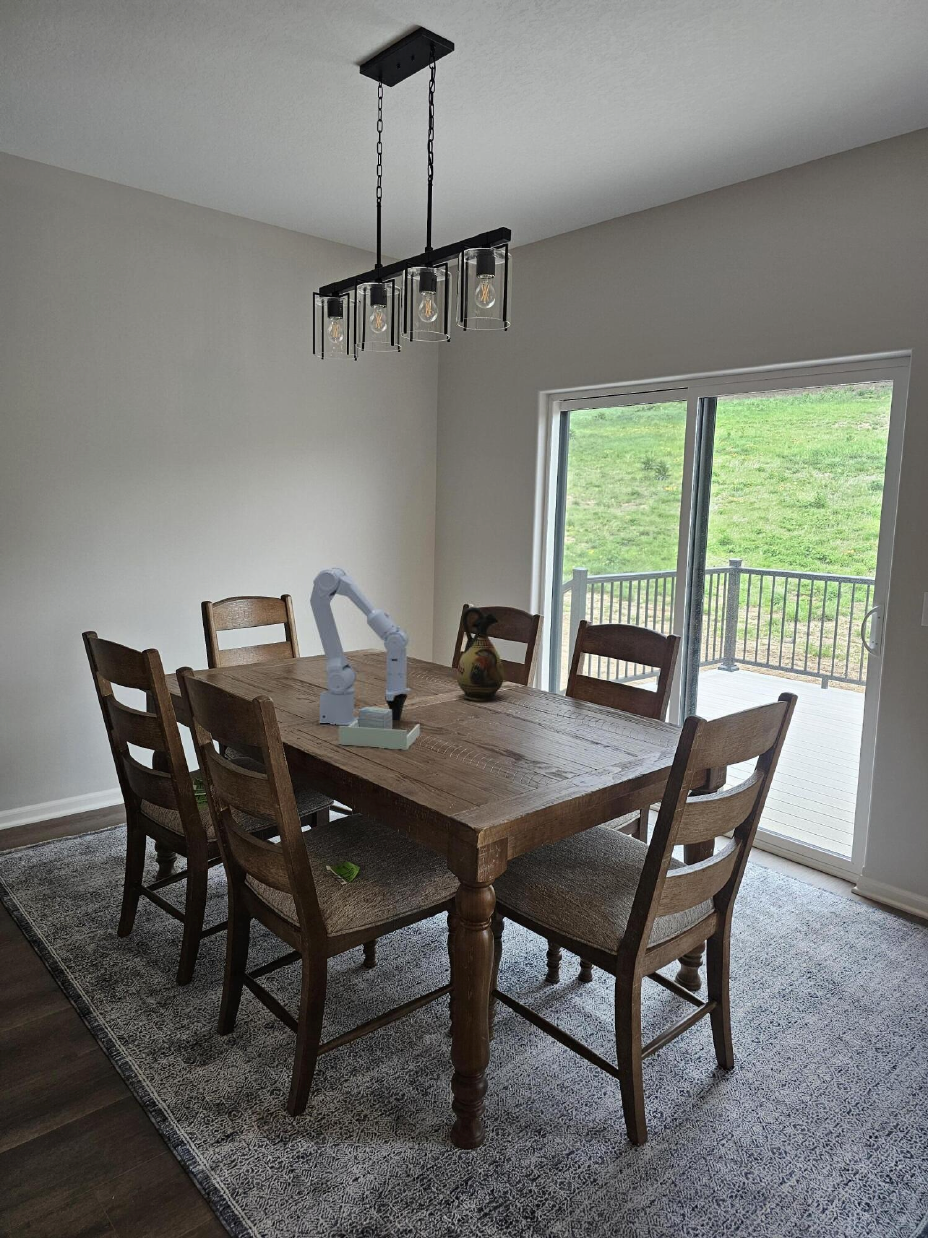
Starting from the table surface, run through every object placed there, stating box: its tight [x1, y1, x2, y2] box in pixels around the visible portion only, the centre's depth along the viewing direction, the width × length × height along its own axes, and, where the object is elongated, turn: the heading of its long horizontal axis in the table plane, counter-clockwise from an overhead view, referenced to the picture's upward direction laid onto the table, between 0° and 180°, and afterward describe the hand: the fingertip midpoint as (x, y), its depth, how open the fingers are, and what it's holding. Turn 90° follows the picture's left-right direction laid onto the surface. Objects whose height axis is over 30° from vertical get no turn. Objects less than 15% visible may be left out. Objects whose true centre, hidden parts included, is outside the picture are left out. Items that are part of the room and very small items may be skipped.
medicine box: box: [358, 706, 393, 729], centre depth 214 cm, size 8×4×9 cm, turn 68°
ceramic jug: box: [456, 606, 505, 703], centre depth 265 cm, size 17×15×30 cm
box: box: [338, 719, 421, 751], centre depth 216 cm, size 18×15×5 cm
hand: (396, 720), depth 231 cm, fingers closed
